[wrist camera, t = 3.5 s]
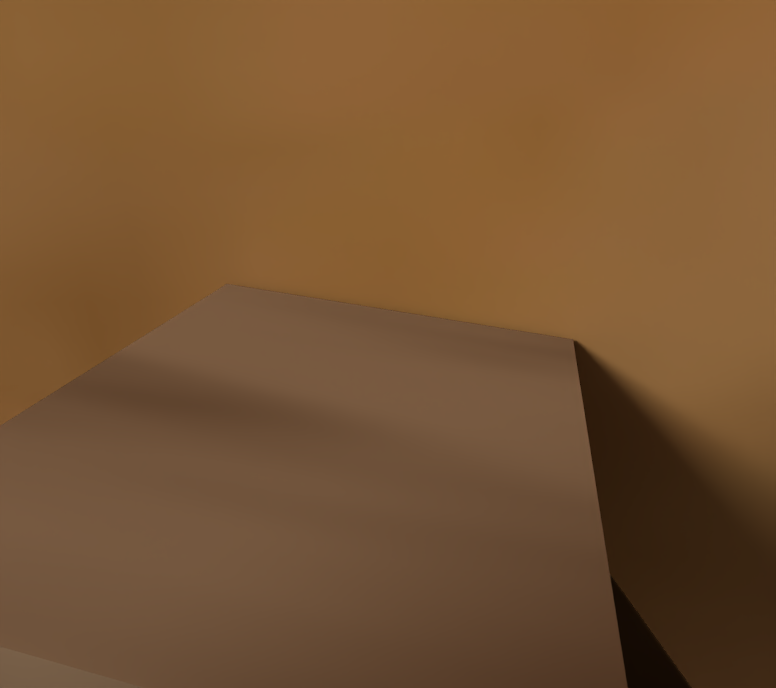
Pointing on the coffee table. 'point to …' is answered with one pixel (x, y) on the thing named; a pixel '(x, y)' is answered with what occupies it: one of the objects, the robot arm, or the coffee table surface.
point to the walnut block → (308, 509)
